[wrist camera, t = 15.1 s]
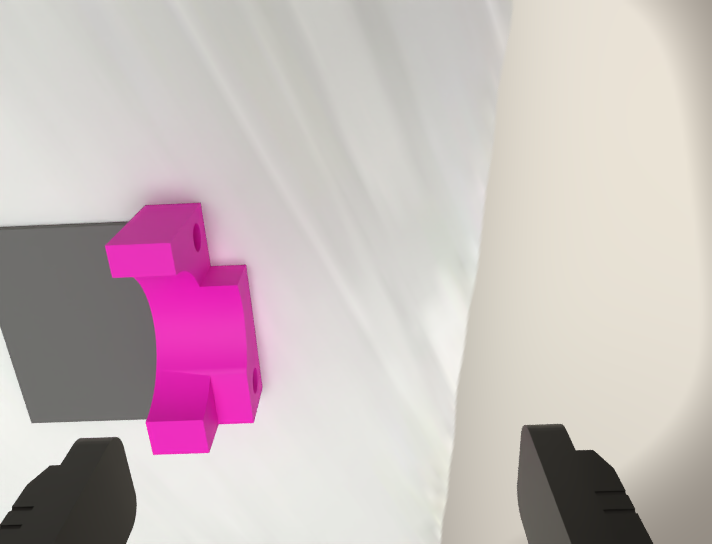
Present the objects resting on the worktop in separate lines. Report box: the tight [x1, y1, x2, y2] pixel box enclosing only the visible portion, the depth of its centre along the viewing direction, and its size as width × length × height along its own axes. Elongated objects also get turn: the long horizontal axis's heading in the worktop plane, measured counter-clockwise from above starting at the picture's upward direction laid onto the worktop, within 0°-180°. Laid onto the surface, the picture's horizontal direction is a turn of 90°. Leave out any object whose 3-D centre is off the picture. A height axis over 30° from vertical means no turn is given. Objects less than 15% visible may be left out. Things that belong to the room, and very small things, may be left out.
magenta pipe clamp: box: [105, 203, 262, 455], centre depth 42 cm, size 15×6×8 cm, turn 3°
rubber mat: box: [0, 222, 157, 423], centre depth 46 cm, size 16×12×1 cm
